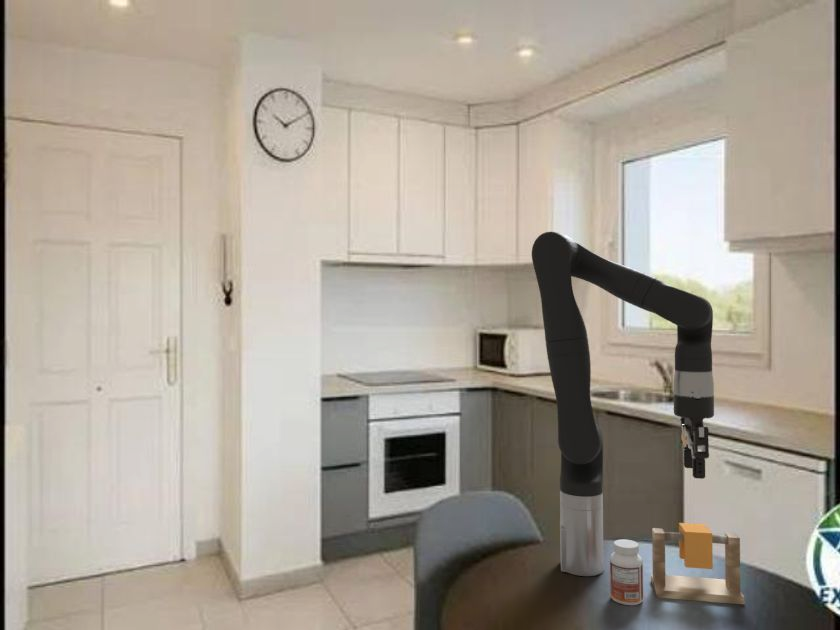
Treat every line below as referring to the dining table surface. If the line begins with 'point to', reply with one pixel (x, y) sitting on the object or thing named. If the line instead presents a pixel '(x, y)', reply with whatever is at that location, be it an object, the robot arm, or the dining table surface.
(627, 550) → the pill bottle
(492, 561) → the dining table surface
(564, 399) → the robot arm
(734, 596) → the rack
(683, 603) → the dining table surface
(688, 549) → the notched orange block
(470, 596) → the dining table surface
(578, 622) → the dining table surface
